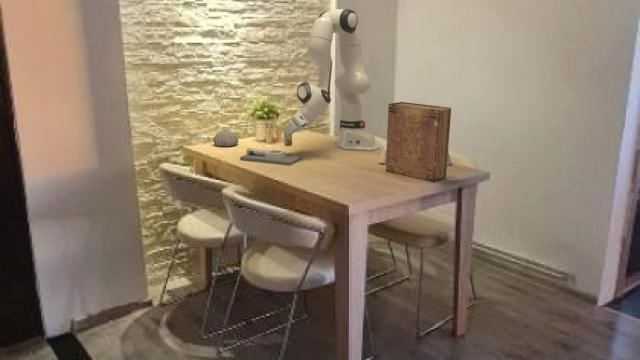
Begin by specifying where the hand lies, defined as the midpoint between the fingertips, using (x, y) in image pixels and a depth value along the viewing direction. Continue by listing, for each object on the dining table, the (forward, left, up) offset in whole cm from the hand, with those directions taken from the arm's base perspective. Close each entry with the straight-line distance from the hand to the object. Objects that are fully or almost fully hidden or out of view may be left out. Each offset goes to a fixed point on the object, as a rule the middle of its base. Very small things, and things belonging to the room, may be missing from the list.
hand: (286, 136), depth 271 cm
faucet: (-52, -8, -10) cm, 54 cm away
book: (-67, +12, -9) cm, 69 cm away
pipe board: (+2, +13, -9) cm, 16 cm away
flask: (-75, -13, -10) cm, 77 cm away
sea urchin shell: (+39, -7, -10) cm, 41 cm away
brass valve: (-1, 0, -4) cm, 5 cm away
